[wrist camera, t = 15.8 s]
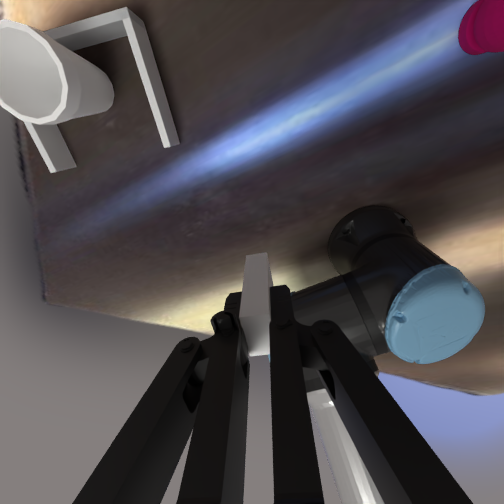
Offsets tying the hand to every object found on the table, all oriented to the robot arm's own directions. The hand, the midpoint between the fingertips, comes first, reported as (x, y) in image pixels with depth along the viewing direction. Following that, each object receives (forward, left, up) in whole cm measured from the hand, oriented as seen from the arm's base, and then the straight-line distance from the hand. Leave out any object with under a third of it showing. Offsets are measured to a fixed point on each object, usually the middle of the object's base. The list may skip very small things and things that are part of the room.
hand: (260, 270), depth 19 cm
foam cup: (+19, +23, -30) cm, 42 cm away
